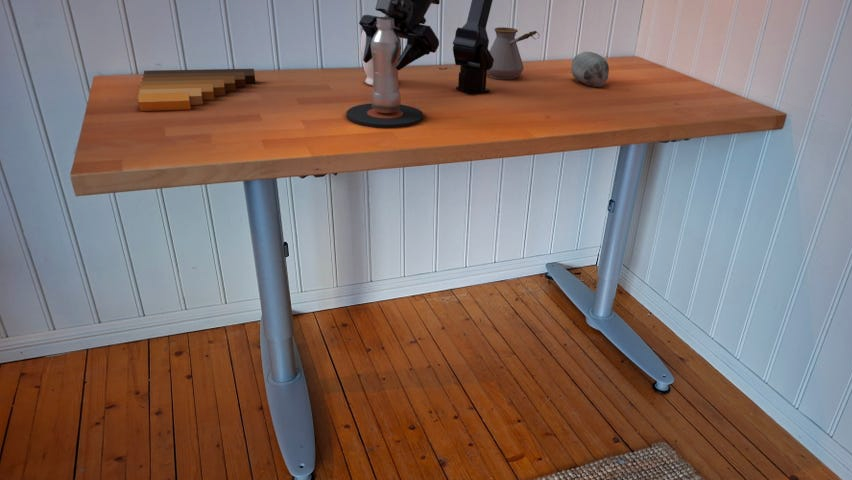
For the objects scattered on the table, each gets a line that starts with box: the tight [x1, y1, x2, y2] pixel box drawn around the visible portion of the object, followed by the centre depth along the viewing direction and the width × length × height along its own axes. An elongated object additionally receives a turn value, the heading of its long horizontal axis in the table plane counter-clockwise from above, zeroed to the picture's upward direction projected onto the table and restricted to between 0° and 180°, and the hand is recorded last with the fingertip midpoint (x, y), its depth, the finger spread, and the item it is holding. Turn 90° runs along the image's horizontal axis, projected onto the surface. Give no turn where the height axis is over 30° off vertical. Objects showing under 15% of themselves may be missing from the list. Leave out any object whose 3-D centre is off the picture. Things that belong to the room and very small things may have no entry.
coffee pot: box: [487, 26, 540, 80], centre depth 186 cm, size 21×12×15 cm, turn 28°
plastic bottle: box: [370, 16, 402, 113], centre depth 147 cm, size 6×7×20 cm
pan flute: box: [137, 68, 256, 112], centre depth 158 cm, size 25×3×25 cm
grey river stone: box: [570, 51, 610, 88], centre depth 191 cm, size 14×10×10 cm
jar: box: [359, 24, 402, 87], centre depth 175 cm, size 11×10×15 cm
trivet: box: [346, 102, 424, 129], centre depth 152 cm, size 17×17×1 cm
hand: (380, 65), depth 146 cm, fingers open, 9 cm apart
